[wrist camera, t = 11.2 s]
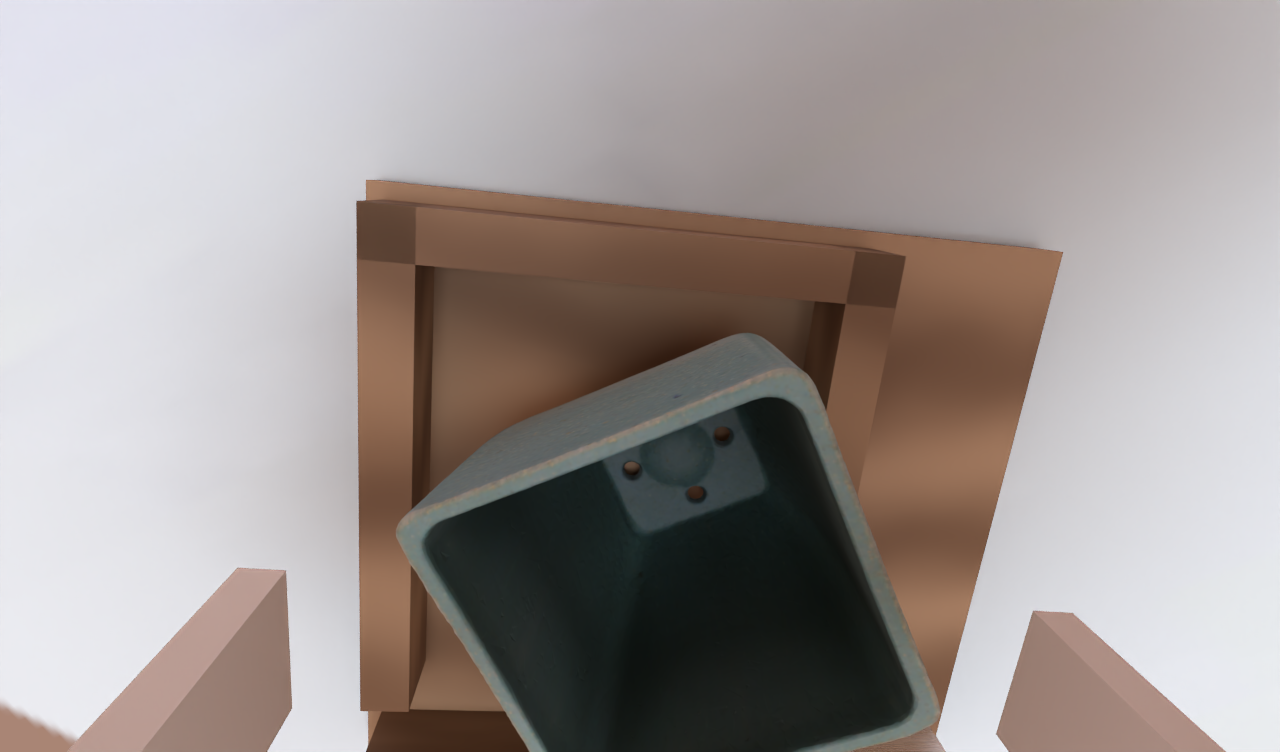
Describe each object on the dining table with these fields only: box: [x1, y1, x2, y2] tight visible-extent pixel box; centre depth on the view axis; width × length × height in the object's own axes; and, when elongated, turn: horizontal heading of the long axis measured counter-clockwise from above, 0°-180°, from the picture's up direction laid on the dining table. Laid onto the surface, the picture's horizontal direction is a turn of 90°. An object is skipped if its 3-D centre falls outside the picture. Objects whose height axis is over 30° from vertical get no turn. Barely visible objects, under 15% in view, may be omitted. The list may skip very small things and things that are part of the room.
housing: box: [357, 180, 1063, 752], centre depth 23 cm, size 21×22×4 cm
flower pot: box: [396, 333, 940, 752], centre depth 18 cm, size 9×9×9 cm
